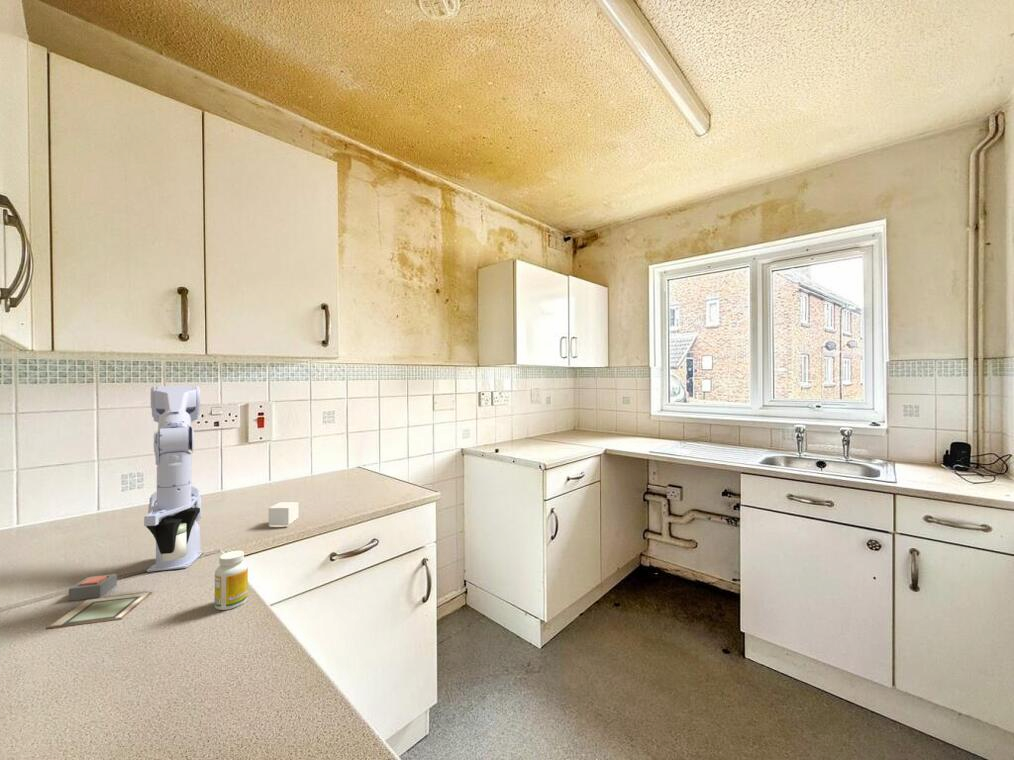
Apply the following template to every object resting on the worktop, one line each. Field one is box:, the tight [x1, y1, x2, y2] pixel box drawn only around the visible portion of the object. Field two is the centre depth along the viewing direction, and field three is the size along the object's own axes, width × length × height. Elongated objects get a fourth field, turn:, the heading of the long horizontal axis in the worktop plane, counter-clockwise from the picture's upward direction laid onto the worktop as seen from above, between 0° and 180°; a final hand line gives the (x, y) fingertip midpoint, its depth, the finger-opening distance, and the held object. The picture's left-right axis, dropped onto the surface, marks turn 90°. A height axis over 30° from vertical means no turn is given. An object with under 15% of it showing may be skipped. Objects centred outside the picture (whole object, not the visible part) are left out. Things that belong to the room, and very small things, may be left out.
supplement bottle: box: [214, 550, 249, 611], centre depth 80 cm, size 5×5×10 cm
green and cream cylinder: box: [162, 523, 186, 561], centre depth 86 cm, size 4×4×6 cm
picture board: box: [45, 591, 153, 630], centre depth 78 cm, size 10×11×1 cm
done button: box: [80, 575, 107, 586], centre depth 84 cm, size 3×3×1 cm
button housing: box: [68, 573, 118, 602], centre depth 84 cm, size 5×5×2 cm
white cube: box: [268, 501, 300, 526], centre depth 125 cm, size 6×6×6 cm
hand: (174, 548), depth 86 cm, fingers closed on green and cream cylinder, 4 cm apart
